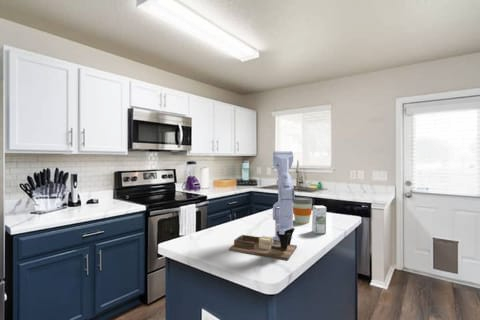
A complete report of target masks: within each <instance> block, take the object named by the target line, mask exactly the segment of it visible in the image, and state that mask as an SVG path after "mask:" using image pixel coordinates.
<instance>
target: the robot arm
mask: <svg viewBox="0 0 480 320" xmlns="http://www.w3.org/2000/svg"><path fill="white" fill-rule="evenodd" d="M272 161H273V162H272V166H273V168H274V169H276V172H277V174H278V175H277V184H278V188H277V189H278V191H277V192H278V195H277V196H278V198H277V199H278V201H276V202H275V203H274V204H273V205H272V220H273V221H274V223H275V226H274V227H275V228H274V231H275V232H274V234H275V235H274V237H273V241H275V242H276V241H277V242H279V243H280V244H281V248H282V249H287V246H288V245H290V244H291V243H292V239H293V237H294V235H293V234H294V231H295V230H296V229H295V228H294V214H293V201H294V197H295V189H294V188H295V187H294V185H293V180H292V175H290V173H289V169H291V168H292V167H293V164H294V152H293V151H292V150H286V151H284V150H274V151H273V153H272ZM292 200H293V201H292Z"/></svg>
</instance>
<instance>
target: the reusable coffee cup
mask: <svg viewBox="0 0 480 320" xmlns="http://www.w3.org/2000/svg"><path fill="white" fill-rule="evenodd" d="M292 201H293V199H292ZM312 204H313V198H312V197H308V196H307V197H306V196H294V201H293V219H294V222H295V223H296V224H297V223H298V224H309V223H310V221H311V215H312V212H313V205H312Z"/></svg>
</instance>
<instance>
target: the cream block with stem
mask: <svg viewBox="0 0 480 320" xmlns="http://www.w3.org/2000/svg"><path fill="white" fill-rule="evenodd" d="M273 238H274V237H273V236H267V235H266V236H265V235H262V236H261V238H259V248H262V249H269V250H270V249H271V248H275V249H280V250H281V251H287V249H282V248H281V244H280V247H278V246H273V242H274V240H273Z"/></svg>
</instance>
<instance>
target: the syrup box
mask: <svg viewBox="0 0 480 320" xmlns="http://www.w3.org/2000/svg"><path fill="white" fill-rule="evenodd" d="M311 230H312V232H313V233H314V234H315V235H325V234H326V233H327V207H326V206H324V205H312V226H311Z"/></svg>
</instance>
